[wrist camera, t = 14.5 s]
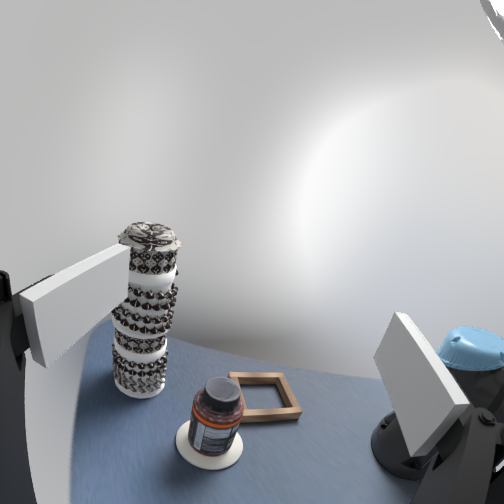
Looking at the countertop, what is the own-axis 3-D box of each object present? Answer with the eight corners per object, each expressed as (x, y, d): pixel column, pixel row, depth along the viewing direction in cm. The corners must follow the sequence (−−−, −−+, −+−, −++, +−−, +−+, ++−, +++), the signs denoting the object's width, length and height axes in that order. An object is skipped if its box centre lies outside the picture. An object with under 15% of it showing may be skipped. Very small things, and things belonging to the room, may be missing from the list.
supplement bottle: (192, 420, 34) (203, 364, 31) (233, 431, 34) (252, 376, 31) (182, 451, 28) (190, 398, 25) (228, 463, 28) (248, 412, 25)
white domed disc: (234, 420, 37) (235, 417, 36) (248, 468, 28) (249, 466, 28) (174, 418, 34) (174, 415, 34) (178, 469, 26) (178, 467, 25)
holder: (279, 379, 48) (282, 372, 48) (298, 418, 39) (302, 411, 39) (227, 379, 45) (229, 372, 45) (238, 422, 36) (241, 415, 36)
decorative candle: (113, 359, 42) (118, 214, 35) (164, 363, 45) (183, 223, 38) (110, 397, 33) (108, 232, 27) (170, 401, 37) (191, 243, 30)
